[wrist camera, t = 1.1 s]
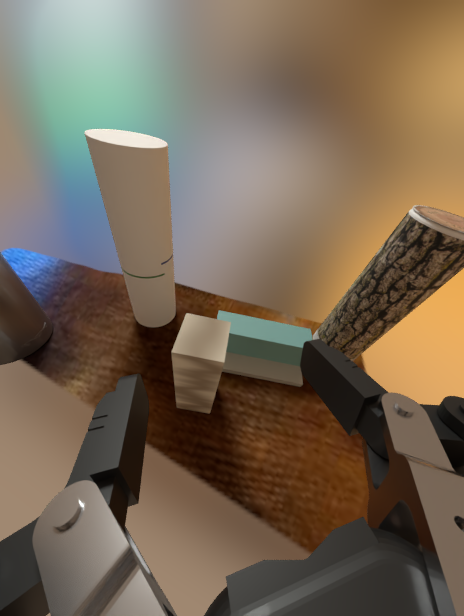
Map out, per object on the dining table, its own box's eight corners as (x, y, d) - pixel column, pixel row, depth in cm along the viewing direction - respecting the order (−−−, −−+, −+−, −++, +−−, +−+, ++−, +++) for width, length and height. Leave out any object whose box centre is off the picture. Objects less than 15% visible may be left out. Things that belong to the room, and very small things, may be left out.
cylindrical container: (183, 309, 39) (182, 146, 21) (156, 334, 34) (125, 150, 16) (154, 293, 40) (130, 129, 23) (125, 314, 36) (65, 128, 18)
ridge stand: (206, 368, 31) (210, 347, 27) (217, 320, 38) (221, 297, 34) (300, 386, 32) (318, 369, 27) (294, 336, 39) (307, 315, 34)
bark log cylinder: (344, 380, 34) (520, 246, 16) (305, 373, 34) (442, 228, 16) (333, 346, 39) (460, 214, 21) (299, 340, 38) (399, 200, 20)
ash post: (176, 407, 27) (171, 352, 17) (186, 375, 30) (186, 313, 20) (209, 413, 27) (224, 362, 17) (215, 381, 30) (230, 322, 20)
